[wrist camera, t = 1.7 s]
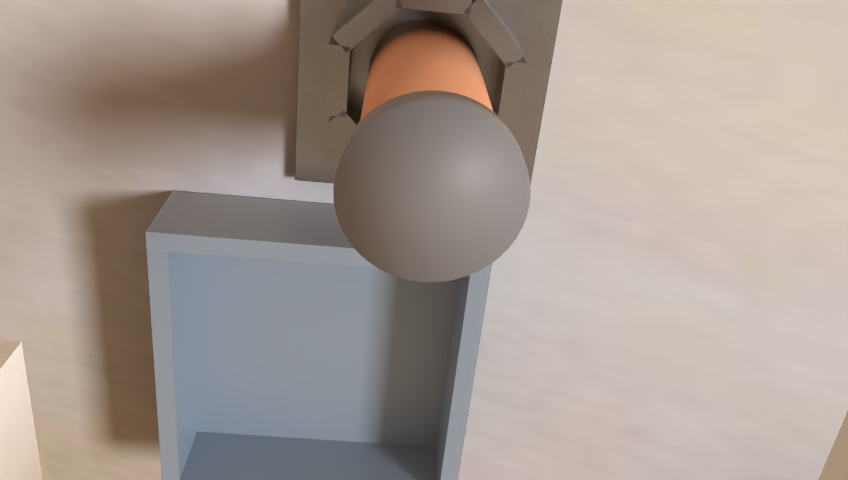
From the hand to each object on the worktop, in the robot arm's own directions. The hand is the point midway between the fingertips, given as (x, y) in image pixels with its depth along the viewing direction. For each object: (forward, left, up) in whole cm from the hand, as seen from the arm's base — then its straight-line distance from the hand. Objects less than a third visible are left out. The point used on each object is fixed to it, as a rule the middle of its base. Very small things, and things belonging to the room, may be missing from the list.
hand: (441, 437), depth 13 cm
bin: (+13, -3, -22) cm, 25 cm away
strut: (0, 0, -21) cm, 21 cm away
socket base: (0, 0, -22) cm, 22 cm away
